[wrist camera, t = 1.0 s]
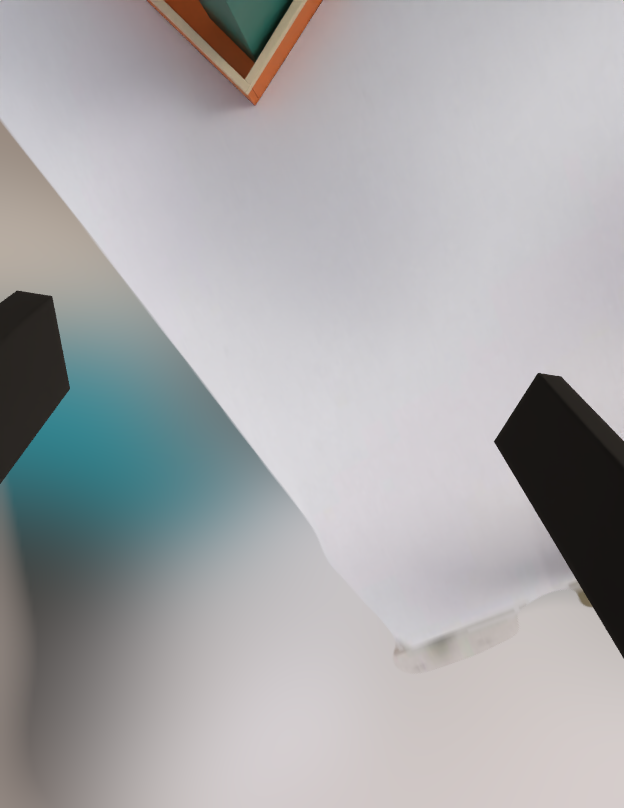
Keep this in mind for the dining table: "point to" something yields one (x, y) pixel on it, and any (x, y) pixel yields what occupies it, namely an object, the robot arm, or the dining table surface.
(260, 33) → the teal packet
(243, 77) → the orange tray
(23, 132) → the dining table surface
